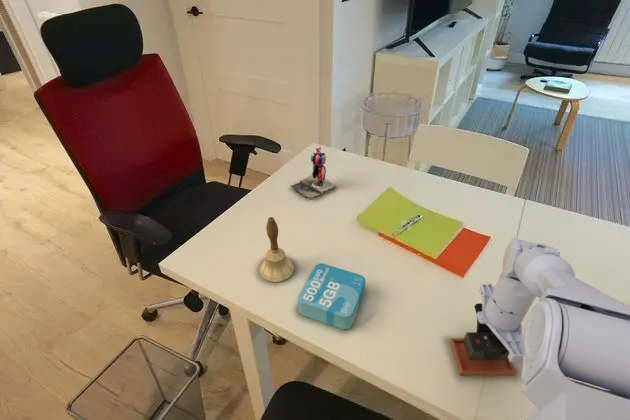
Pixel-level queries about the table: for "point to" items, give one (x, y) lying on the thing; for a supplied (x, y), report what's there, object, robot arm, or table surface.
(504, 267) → the robot arm
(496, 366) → the dish
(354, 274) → the data package
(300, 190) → the statue
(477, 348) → the remote
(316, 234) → the table surface
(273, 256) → the hand bell
